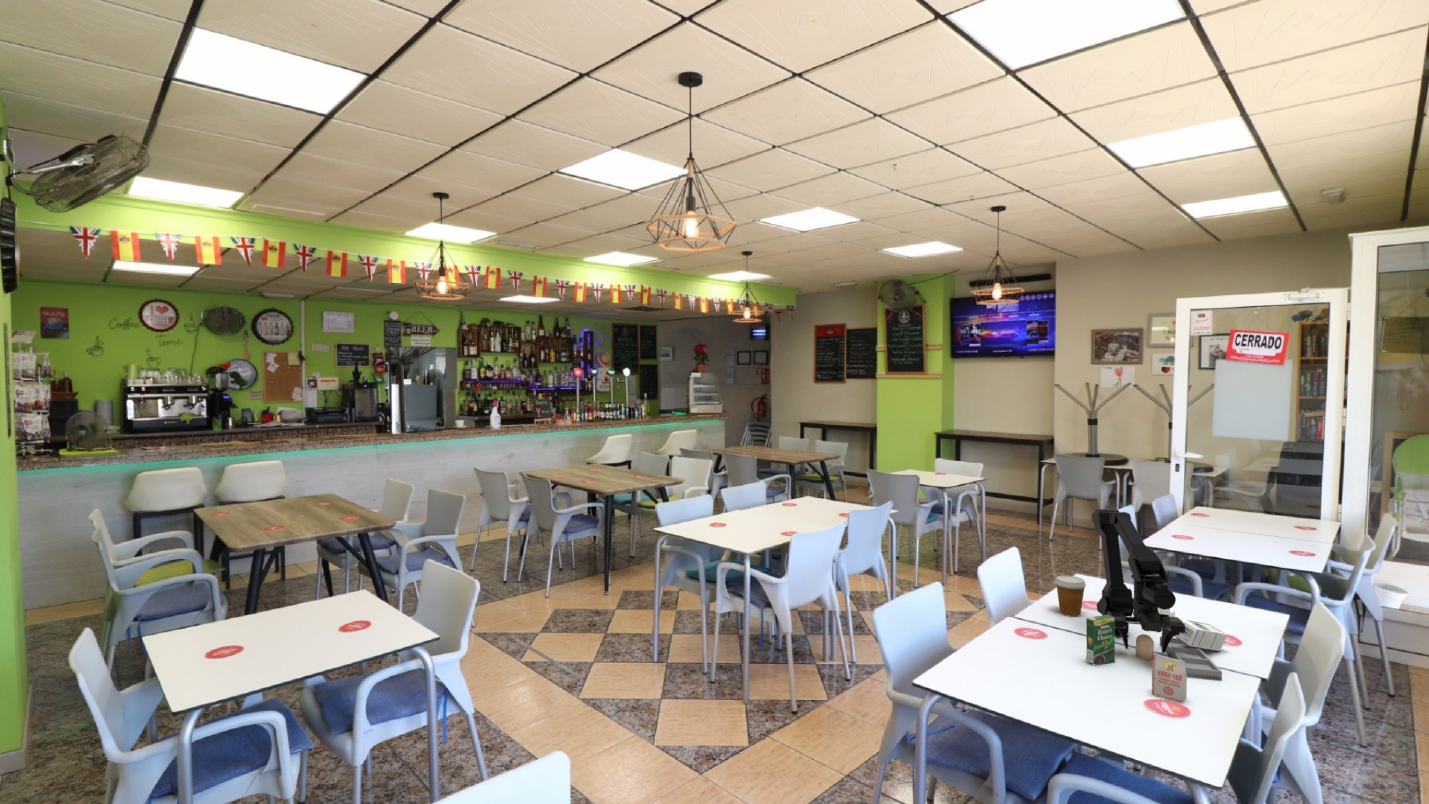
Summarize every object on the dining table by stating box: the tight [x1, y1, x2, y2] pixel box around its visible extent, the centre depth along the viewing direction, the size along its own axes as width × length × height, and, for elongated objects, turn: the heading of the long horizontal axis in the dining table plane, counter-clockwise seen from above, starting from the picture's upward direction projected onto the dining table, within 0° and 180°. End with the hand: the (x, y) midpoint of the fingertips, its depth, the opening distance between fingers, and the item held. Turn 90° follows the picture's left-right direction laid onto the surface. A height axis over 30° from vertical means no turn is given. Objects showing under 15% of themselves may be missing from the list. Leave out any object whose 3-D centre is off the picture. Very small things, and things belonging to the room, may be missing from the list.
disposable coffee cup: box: [1054, 575, 1087, 617], centre depth 233 cm, size 10×10×12 cm
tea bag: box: [1151, 653, 1188, 703], centre depth 172 cm, size 4×7×10 cm, turn 45°
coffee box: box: [1085, 614, 1116, 665], centre depth 193 cm, size 8×3×13 cm, turn 107°
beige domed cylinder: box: [1135, 633, 1155, 661], centre depth 197 cm, size 4×4×7 cm
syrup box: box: [1173, 618, 1228, 652], centre depth 200 cm, size 6×6×14 cm
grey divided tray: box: [1159, 635, 1223, 681], centre depth 193 cm, size 8×23×2 cm, turn 161°
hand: (1144, 650), depth 197 cm, fingers open, 9 cm apart
